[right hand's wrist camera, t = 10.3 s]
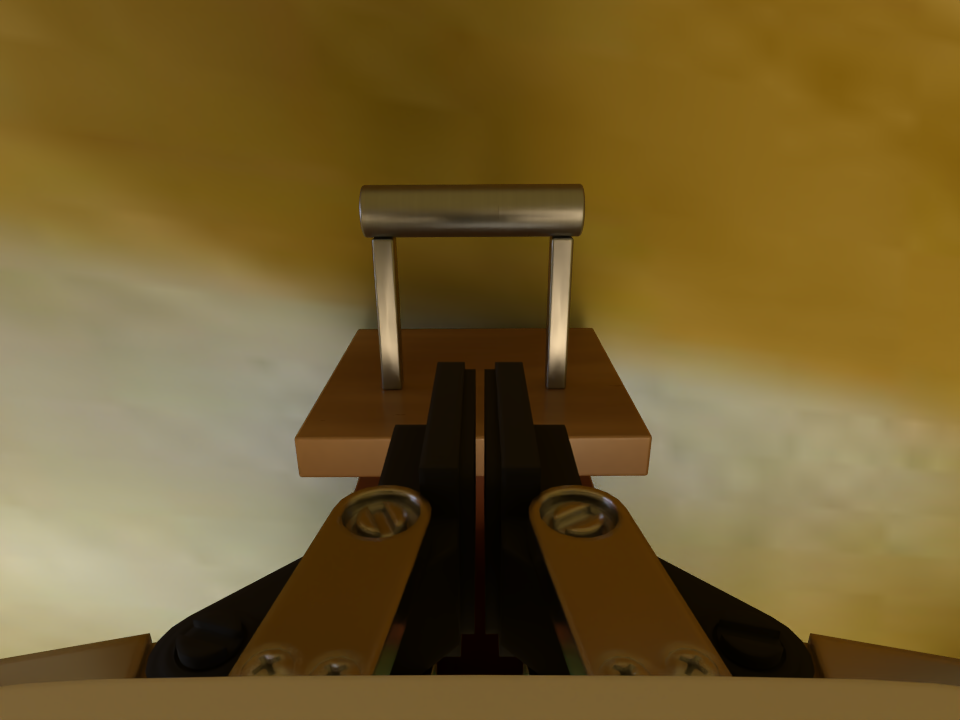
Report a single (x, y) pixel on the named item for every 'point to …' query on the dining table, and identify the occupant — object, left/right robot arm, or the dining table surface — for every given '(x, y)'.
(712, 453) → the dining table surface
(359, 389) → the drawer
